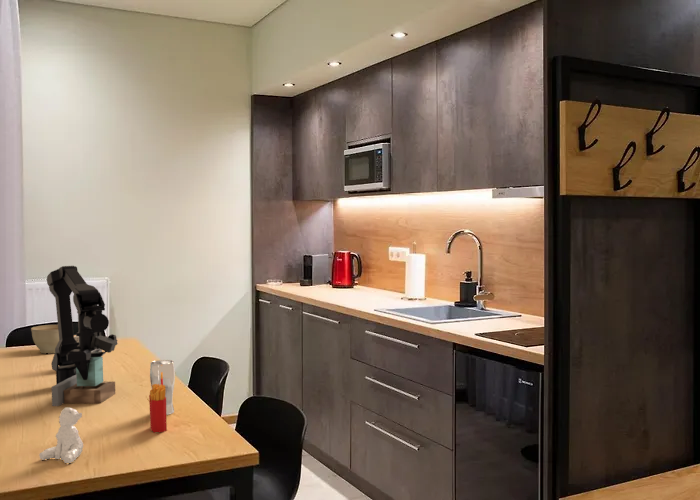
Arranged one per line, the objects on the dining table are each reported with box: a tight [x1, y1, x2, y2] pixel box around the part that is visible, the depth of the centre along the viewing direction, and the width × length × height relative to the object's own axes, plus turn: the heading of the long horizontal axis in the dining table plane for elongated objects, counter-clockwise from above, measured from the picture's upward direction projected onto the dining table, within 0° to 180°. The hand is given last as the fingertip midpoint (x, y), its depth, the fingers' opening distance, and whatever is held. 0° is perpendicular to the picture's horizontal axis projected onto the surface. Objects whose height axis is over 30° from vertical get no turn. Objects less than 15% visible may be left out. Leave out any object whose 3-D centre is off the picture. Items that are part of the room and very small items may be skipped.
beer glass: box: [149, 359, 176, 416], centre depth 206 cm, size 7×7×15 cm
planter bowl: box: [30, 324, 59, 354], centre depth 305 cm, size 16×16×11 cm
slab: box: [51, 375, 77, 407], centre depth 224 cm, size 2×18×6 cm, turn 177°
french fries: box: [148, 384, 168, 433], centre depth 190 cm, size 8×4×12 cm, turn 23°
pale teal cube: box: [76, 356, 104, 386], centre depth 224 cm, size 6×6×8 cm
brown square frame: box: [63, 381, 116, 404], centre depth 224 cm, size 12×12×4 cm
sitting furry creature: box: [38, 406, 84, 464], centre depth 169 cm, size 10×9×12 cm
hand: (89, 377), depth 224 cm, fingers closed on pale teal cube, 6 cm apart
